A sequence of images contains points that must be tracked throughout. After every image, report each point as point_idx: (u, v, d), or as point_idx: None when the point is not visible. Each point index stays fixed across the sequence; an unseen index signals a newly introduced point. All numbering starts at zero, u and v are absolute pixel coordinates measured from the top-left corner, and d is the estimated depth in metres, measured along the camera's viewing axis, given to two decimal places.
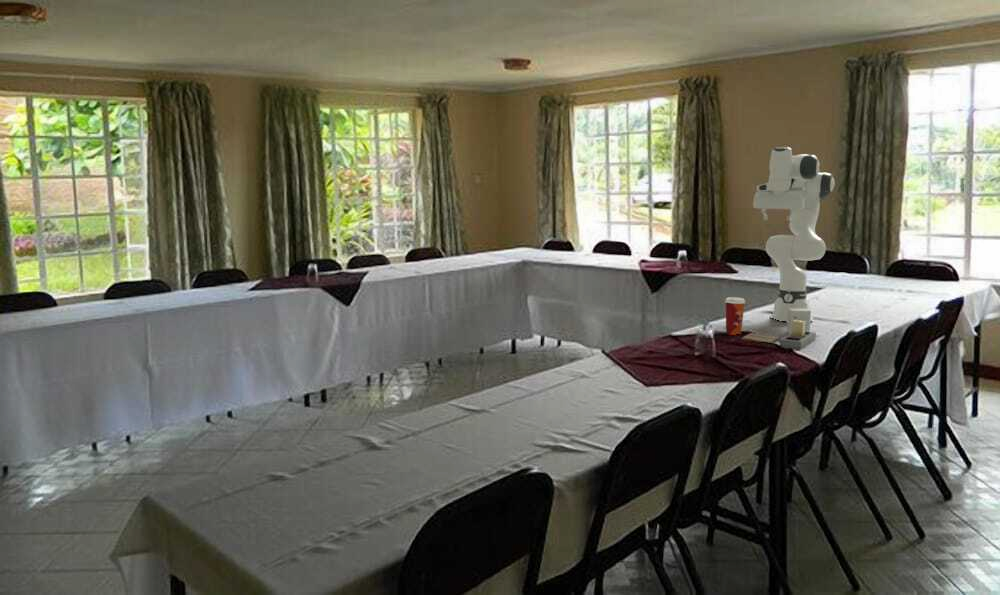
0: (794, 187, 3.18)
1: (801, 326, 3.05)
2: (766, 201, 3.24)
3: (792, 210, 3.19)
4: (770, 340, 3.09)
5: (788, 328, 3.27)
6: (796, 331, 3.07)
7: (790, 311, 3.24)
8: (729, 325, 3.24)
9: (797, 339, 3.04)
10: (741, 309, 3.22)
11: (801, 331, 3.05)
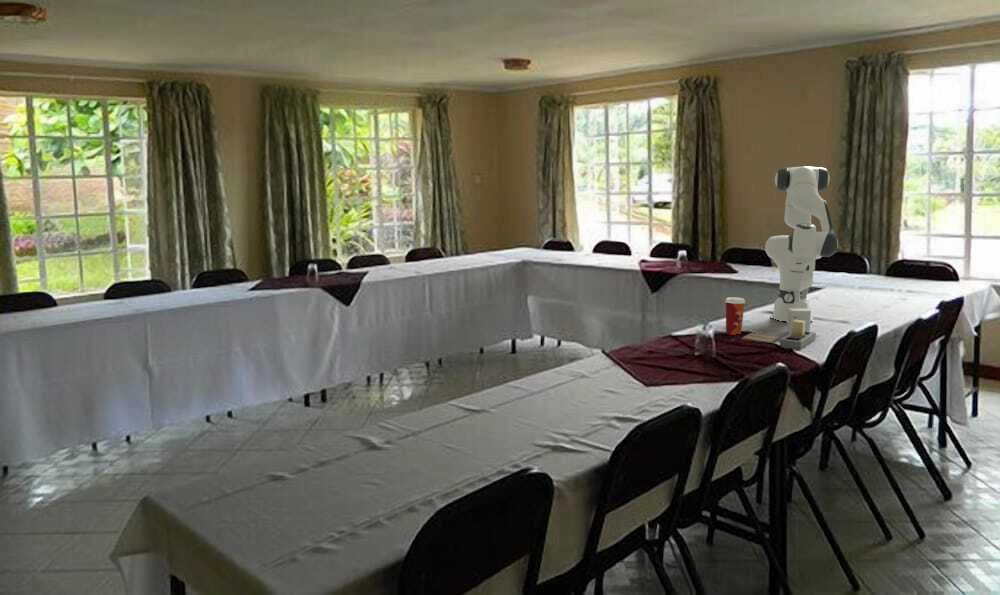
0: None
1: (801, 326, 3.05)
2: (803, 282, 3.00)
3: None
4: (770, 340, 3.09)
5: (788, 328, 3.27)
6: (796, 331, 3.07)
7: (790, 311, 3.24)
8: (729, 325, 3.24)
9: (797, 339, 3.04)
10: (741, 309, 3.22)
11: (801, 331, 3.05)
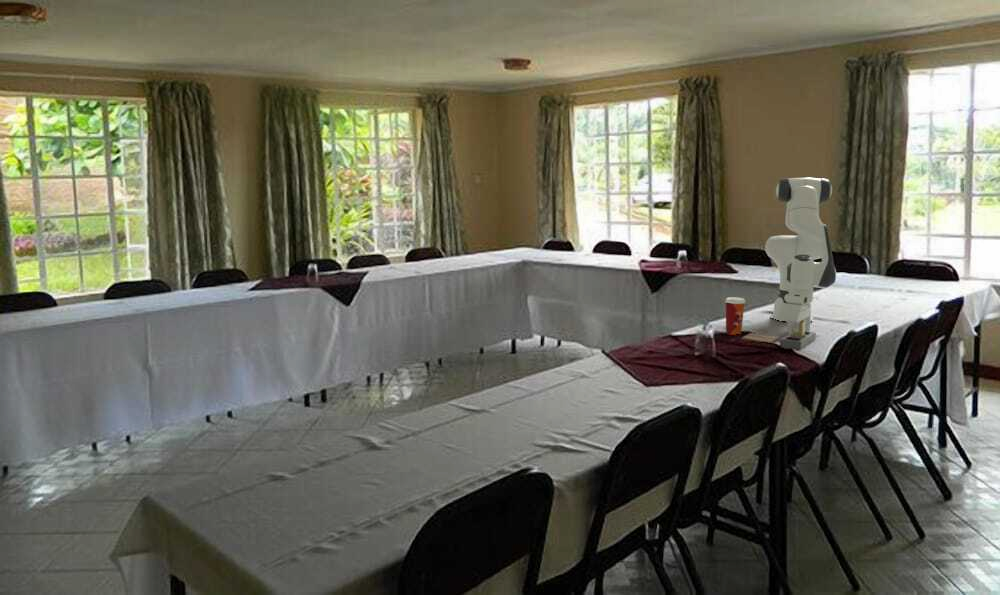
0: None
1: (801, 326, 3.05)
2: (801, 313, 3.02)
3: (804, 318, 3.10)
4: (770, 340, 3.09)
5: (788, 328, 3.27)
6: None
7: None
8: (729, 325, 3.24)
9: (797, 339, 3.04)
10: (741, 309, 3.22)
11: (801, 331, 3.05)
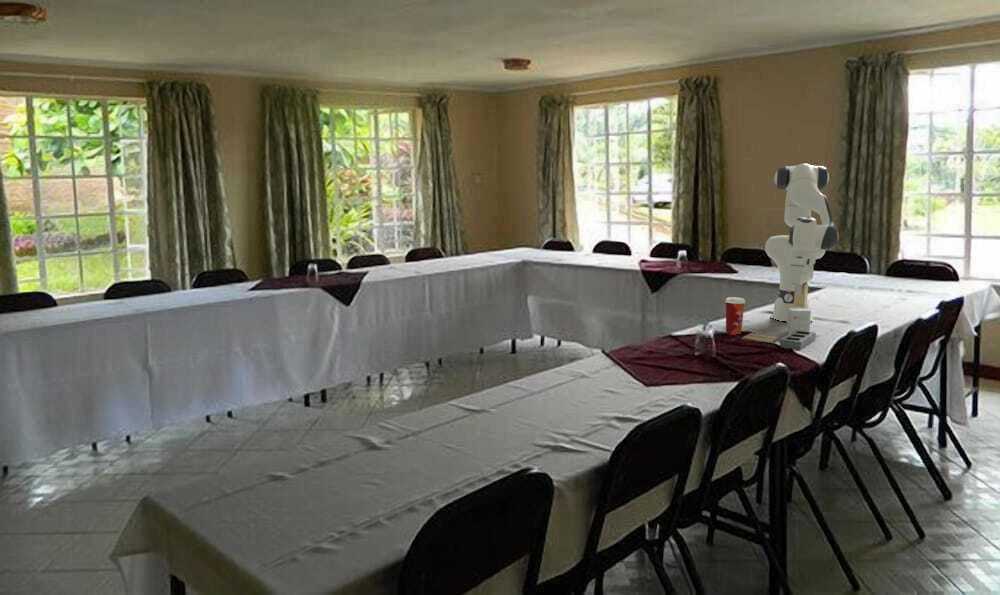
0: None
1: (804, 289, 3.03)
2: (803, 276, 3.00)
3: None
4: (770, 340, 3.09)
5: (788, 328, 3.27)
6: None
7: (790, 311, 3.24)
8: (729, 325, 3.24)
9: (797, 339, 3.04)
10: (741, 309, 3.22)
11: (804, 294, 3.03)
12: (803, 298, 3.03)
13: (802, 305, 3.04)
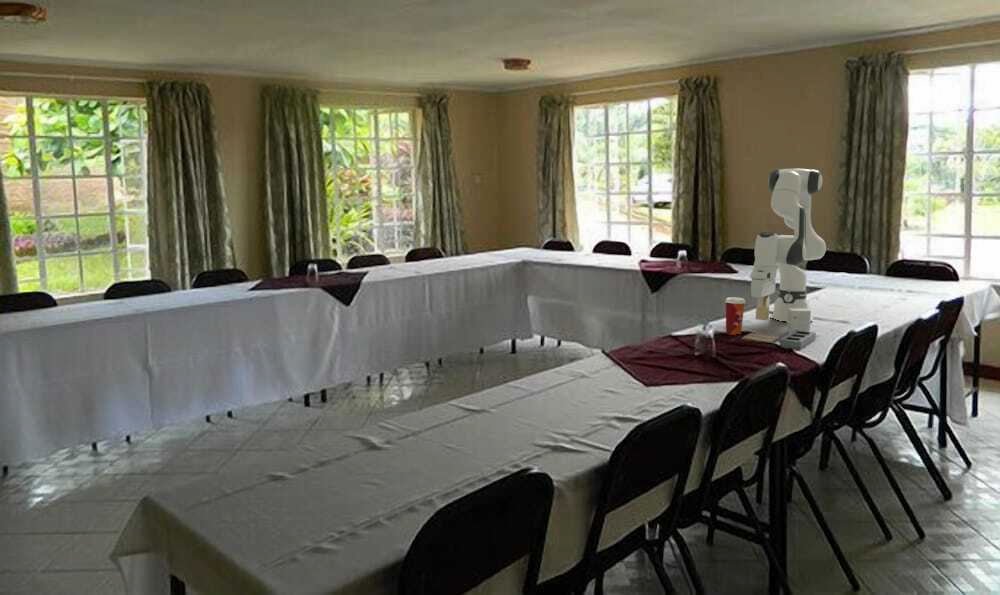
0: None
1: (765, 302, 3.10)
2: (765, 289, 3.07)
3: None
4: (770, 340, 3.09)
5: (788, 328, 3.27)
6: None
7: (790, 311, 3.24)
8: (729, 325, 3.24)
9: (797, 339, 3.04)
10: (741, 309, 3.22)
11: (765, 307, 3.10)
12: (764, 311, 3.11)
13: (764, 318, 3.11)
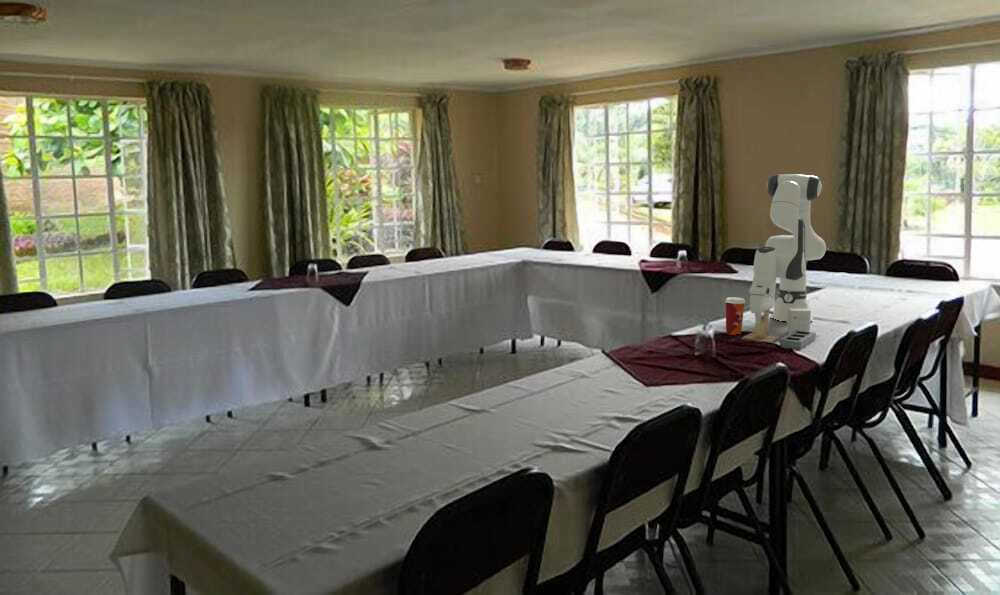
0: None
1: (764, 320, 3.12)
2: (764, 304, 3.08)
3: (769, 309, 3.18)
4: (770, 340, 3.09)
5: (788, 328, 3.27)
6: (759, 325, 3.13)
7: (790, 311, 3.24)
8: (729, 325, 3.24)
9: (797, 339, 3.04)
10: (741, 309, 3.22)
11: (764, 325, 3.12)
12: (763, 329, 3.12)
13: (762, 336, 3.13)
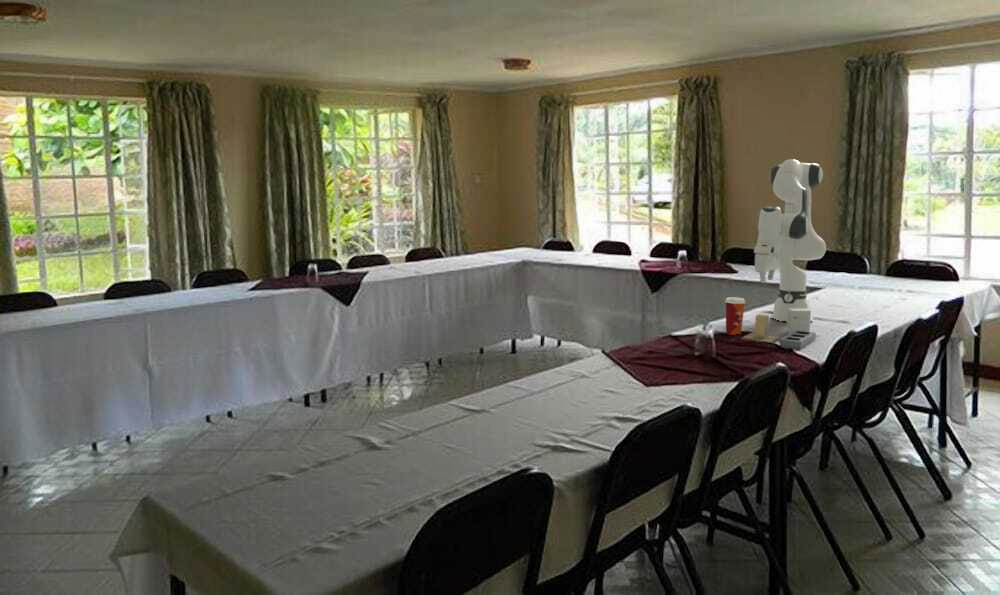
0: None
1: (764, 320, 3.12)
2: (768, 264, 3.07)
3: (774, 269, 3.17)
4: (770, 340, 3.09)
5: (788, 328, 3.27)
6: (759, 325, 3.13)
7: (790, 311, 3.24)
8: (729, 325, 3.24)
9: (797, 339, 3.04)
10: (741, 309, 3.22)
11: (764, 325, 3.12)
12: (763, 329, 3.12)
13: (762, 336, 3.13)
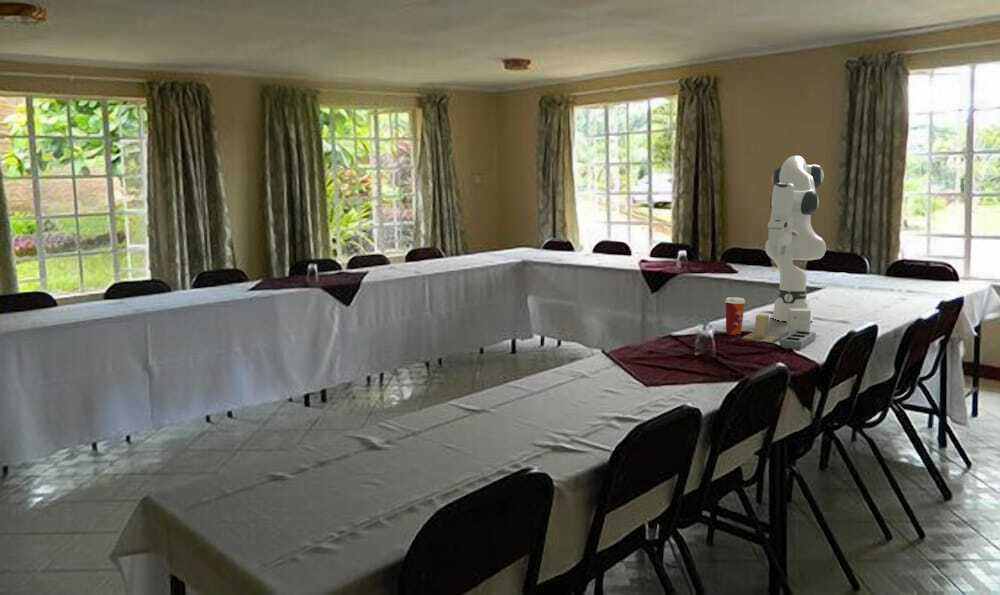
0: None
1: (764, 320, 3.12)
2: (781, 238, 3.13)
3: (787, 245, 3.22)
4: (770, 340, 3.09)
5: (788, 328, 3.27)
6: (759, 325, 3.13)
7: (790, 311, 3.24)
8: (729, 325, 3.24)
9: (797, 339, 3.04)
10: (741, 309, 3.22)
11: (764, 325, 3.12)
12: (763, 329, 3.12)
13: (762, 336, 3.13)
